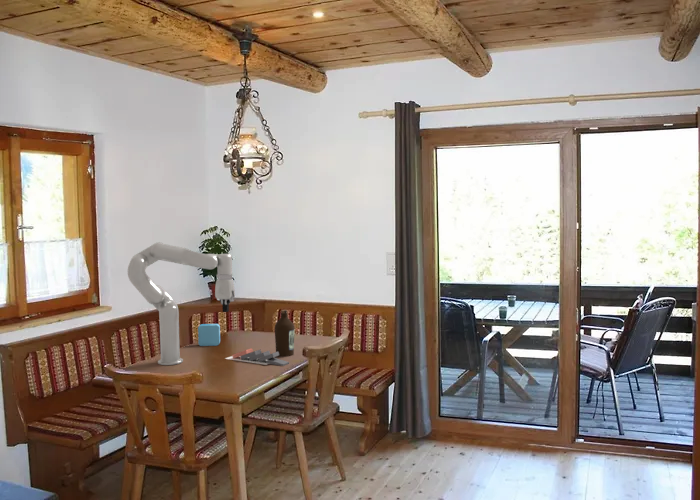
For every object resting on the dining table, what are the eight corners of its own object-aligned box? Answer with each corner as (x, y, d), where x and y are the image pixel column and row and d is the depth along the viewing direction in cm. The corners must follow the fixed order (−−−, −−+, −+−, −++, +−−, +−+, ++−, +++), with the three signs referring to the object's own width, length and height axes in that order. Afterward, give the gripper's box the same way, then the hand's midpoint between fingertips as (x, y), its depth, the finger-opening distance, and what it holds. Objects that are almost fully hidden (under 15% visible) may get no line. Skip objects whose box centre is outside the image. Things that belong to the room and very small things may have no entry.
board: (224, 360, 340) (224, 358, 340) (235, 357, 348) (235, 354, 348) (266, 367, 327) (266, 364, 327) (276, 363, 335) (276, 360, 334)
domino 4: (267, 359, 329) (283, 364, 324) (273, 357, 333) (289, 362, 328) (266, 363, 329) (282, 368, 324) (272, 361, 333) (288, 365, 328)
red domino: (231, 354, 340) (245, 350, 335) (238, 352, 344) (251, 348, 339) (233, 358, 340) (247, 353, 335) (239, 356, 344) (253, 351, 339)
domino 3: (257, 358, 332) (272, 353, 327) (263, 356, 336) (278, 351, 331) (259, 362, 331) (273, 357, 326) (265, 360, 336) (279, 355, 331)
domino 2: (248, 357, 334) (263, 352, 330) (254, 355, 339) (269, 350, 334) (250, 361, 334) (264, 356, 329) (256, 358, 339) (270, 354, 334)
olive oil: (272, 358, 344) (271, 311, 343) (279, 353, 355) (278, 308, 353) (291, 359, 342) (290, 312, 340) (297, 354, 352) (296, 309, 350)
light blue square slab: (220, 343, 380) (219, 323, 379) (219, 345, 376) (219, 325, 375) (199, 344, 379) (198, 324, 378) (198, 346, 375) (197, 325, 374)
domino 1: (240, 356, 337) (254, 351, 332) (246, 354, 342) (260, 349, 337) (241, 359, 337) (255, 355, 332) (247, 357, 341) (261, 352, 336)
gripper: (209, 277, 342) (210, 311, 344) (231, 278, 335) (232, 314, 336) (218, 275, 349) (219, 309, 350) (240, 277, 341) (241, 311, 343)
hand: (225, 311), depth 343 cm, fingers closed
